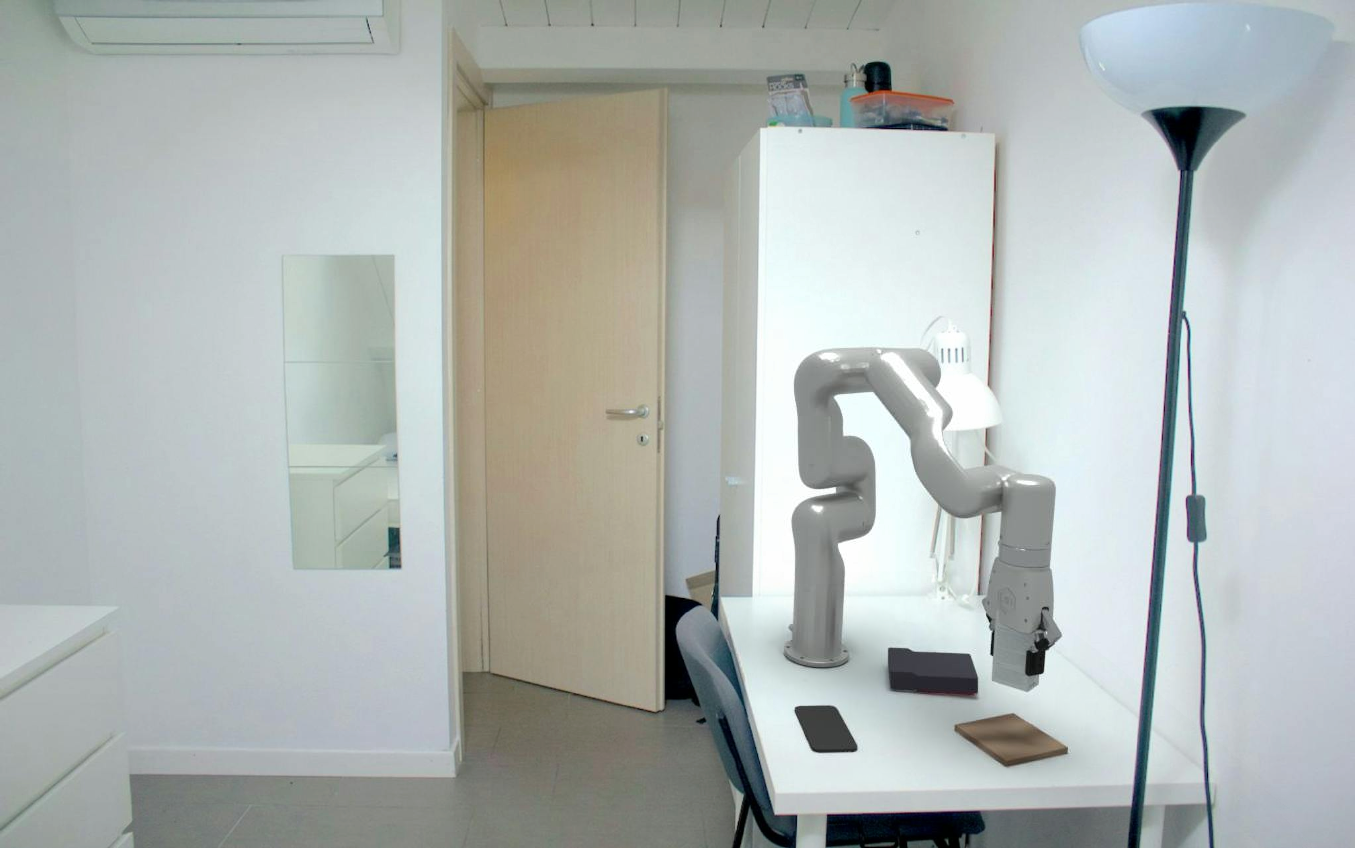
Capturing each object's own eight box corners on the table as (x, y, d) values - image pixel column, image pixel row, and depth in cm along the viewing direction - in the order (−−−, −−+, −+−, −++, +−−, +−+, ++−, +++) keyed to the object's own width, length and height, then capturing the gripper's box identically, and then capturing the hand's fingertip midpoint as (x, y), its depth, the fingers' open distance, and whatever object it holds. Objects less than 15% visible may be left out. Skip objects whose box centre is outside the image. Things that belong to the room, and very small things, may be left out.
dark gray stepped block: (970, 672, 169) (887, 668, 171) (970, 650, 168) (887, 647, 171) (978, 698, 158) (890, 694, 161) (978, 675, 157) (890, 671, 160)
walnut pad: (954, 730, 147) (954, 724, 147) (1013, 718, 151) (1013, 713, 151) (1005, 767, 136) (1006, 761, 136) (1067, 753, 140) (1068, 747, 140)
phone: (835, 705, 154) (860, 748, 139) (835, 709, 154) (859, 753, 140) (792, 705, 154) (812, 749, 139) (792, 710, 154) (812, 755, 139)
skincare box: (1039, 685, 141) (1045, 612, 139) (1027, 693, 138) (1033, 618, 136) (1002, 673, 146) (1007, 602, 144) (990, 681, 143) (995, 608, 141)
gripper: (967, 542, 145) (960, 647, 148) (1047, 574, 129) (1038, 691, 132) (1004, 538, 148) (997, 641, 151) (1087, 569, 132) (1077, 683, 135)
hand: (1016, 663), depth 141 cm, fingers closed on skincare box, 7 cm apart
